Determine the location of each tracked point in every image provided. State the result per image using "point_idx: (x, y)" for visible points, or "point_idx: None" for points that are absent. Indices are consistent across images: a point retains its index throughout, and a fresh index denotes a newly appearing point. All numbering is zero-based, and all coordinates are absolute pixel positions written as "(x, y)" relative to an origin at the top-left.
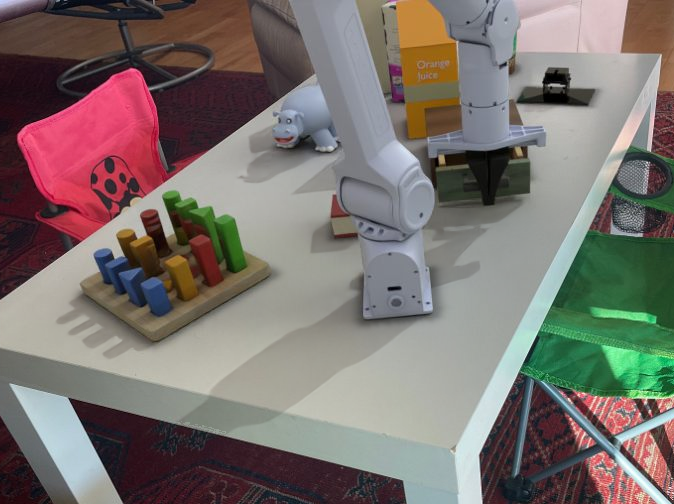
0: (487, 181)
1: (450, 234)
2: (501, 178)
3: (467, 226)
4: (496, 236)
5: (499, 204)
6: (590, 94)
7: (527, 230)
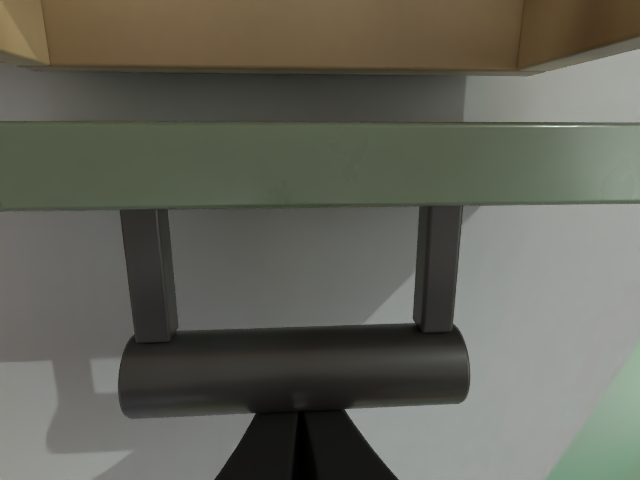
0: (308, 434)
1: None
2: (416, 394)
3: None
4: None
5: None
6: None
7: (440, 425)
